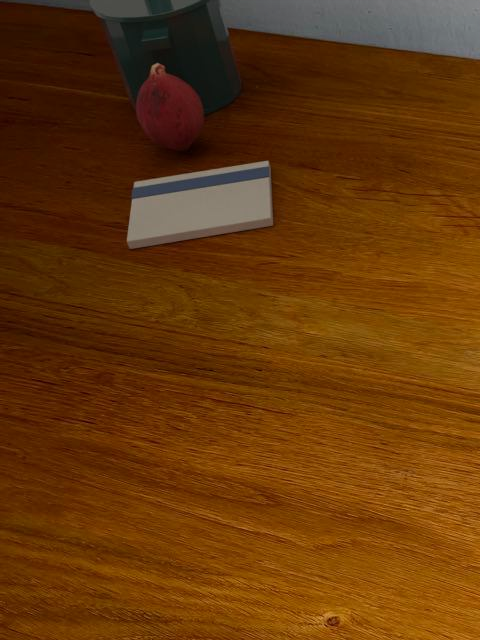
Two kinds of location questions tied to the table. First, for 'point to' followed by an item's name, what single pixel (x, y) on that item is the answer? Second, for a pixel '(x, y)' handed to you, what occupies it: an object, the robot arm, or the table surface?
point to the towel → (200, 204)
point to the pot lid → (142, 9)
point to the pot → (179, 53)
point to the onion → (169, 110)
